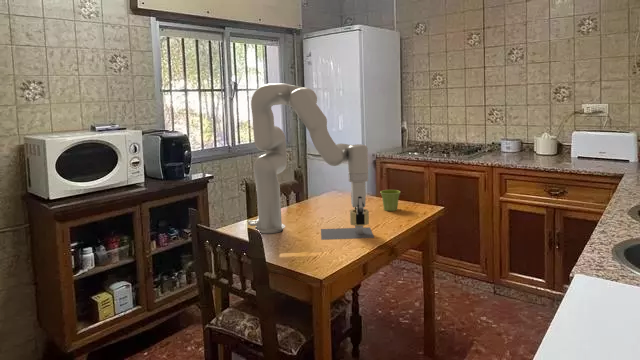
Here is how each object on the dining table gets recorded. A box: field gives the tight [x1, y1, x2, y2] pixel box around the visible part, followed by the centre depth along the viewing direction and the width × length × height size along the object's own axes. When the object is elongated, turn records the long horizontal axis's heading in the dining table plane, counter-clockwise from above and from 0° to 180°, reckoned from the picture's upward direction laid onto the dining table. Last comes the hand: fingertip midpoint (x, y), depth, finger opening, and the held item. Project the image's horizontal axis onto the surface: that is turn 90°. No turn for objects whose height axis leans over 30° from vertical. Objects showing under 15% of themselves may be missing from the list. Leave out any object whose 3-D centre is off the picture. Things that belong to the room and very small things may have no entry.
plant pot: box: [379, 189, 401, 212], centre depth 237 cm, size 9×9×9 cm
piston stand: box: [320, 225, 375, 241], centre depth 198 cm, size 20×14×7 cm
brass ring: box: [349, 208, 370, 227], centre depth 198 cm, size 7×7×5 cm
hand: (359, 221), depth 198 cm, fingers closed on brass ring, 7 cm apart
